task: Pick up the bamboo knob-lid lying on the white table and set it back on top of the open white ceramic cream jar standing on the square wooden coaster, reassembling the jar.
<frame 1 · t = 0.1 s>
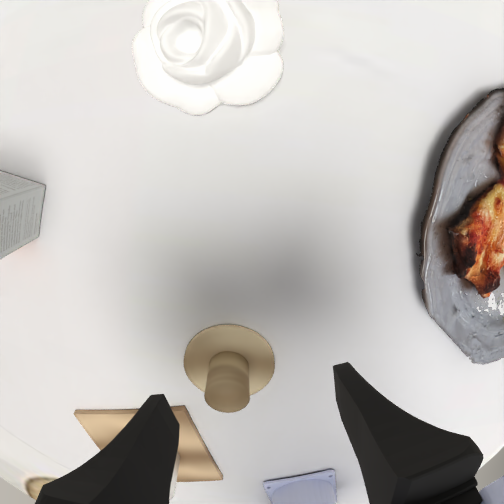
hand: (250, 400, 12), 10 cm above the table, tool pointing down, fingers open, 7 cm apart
rose: (211, 46, 17), on the table
skincare box: (17, 202, 20), on the table
square wooden coaster: (150, 448, 27), on the table
lid: (229, 360, 24), on the table
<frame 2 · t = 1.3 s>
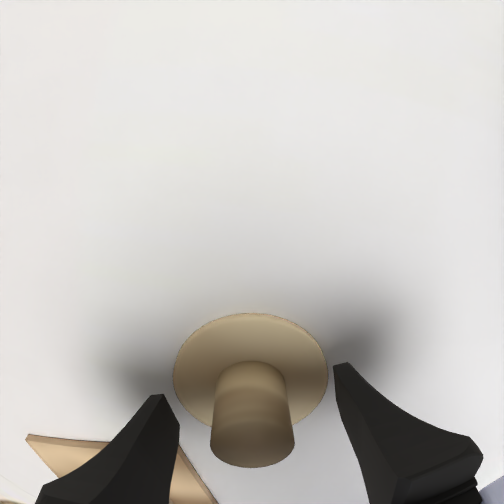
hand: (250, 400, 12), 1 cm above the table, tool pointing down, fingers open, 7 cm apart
square wooden coaster: (131, 490, 17), on the table
lid: (250, 375, 14), on the table
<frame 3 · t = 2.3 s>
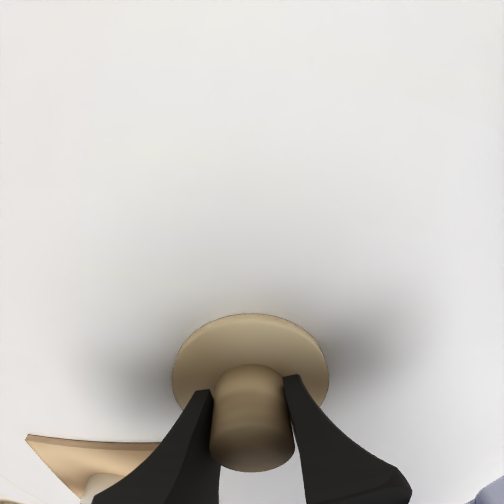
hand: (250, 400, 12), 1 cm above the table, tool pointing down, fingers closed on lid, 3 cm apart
jar: (130, 496, 17), point 1 cm above the table, touching square wooden coaster
square wooden coaster: (131, 490, 17), on the table
lid: (250, 378, 14), on the table, touching gripper
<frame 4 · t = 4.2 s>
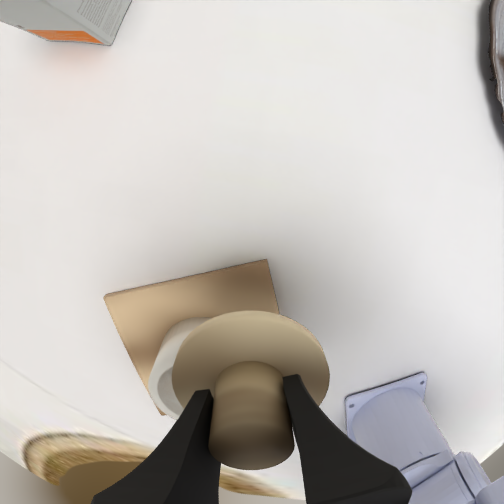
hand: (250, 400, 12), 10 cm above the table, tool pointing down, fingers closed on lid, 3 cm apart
jar: (204, 353, 23), point 1 cm above the table, touching square wooden coaster
skincare box: (90, 19, 16), on the table
square wooden coaster: (205, 349, 24), on the table
lid: (250, 376, 14), point 9 cm above the table, touching gripper
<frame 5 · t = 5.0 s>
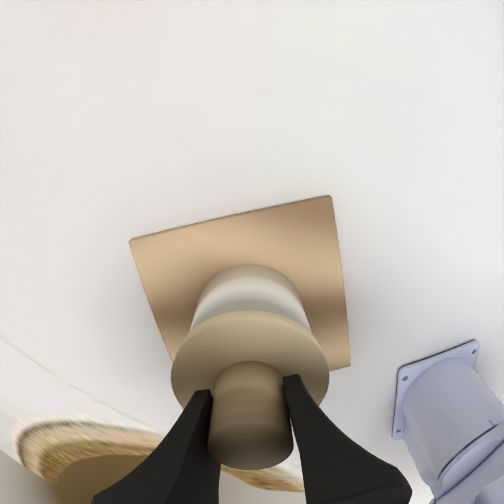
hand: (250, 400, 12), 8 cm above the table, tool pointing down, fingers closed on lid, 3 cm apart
jar: (249, 312, 20), point 1 cm above the table, touching square wooden coaster
square wooden coaster: (249, 308, 20), on the table
lid: (250, 376, 14), point 7 cm above the table, touching gripper
when the fingers open (7 cm above the table, at t = 5.9 s): lid stays where it is, resting on jar.
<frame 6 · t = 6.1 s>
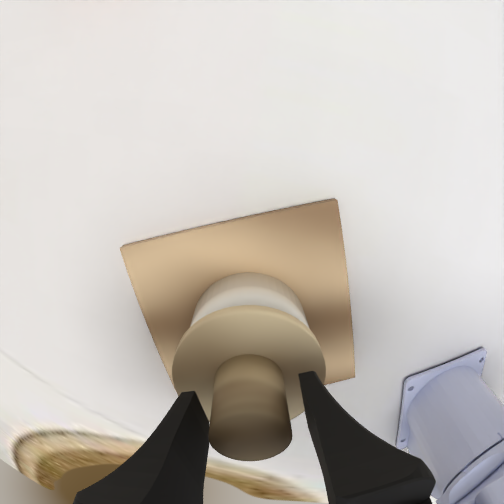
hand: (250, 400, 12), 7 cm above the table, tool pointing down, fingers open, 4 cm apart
jar: (249, 323, 19), point 1 cm above the table, touching lid, square wooden coaster
square wooden coaster: (249, 318, 19), on the table
lid: (248, 370, 14), point 5 cm above the table, touching jar
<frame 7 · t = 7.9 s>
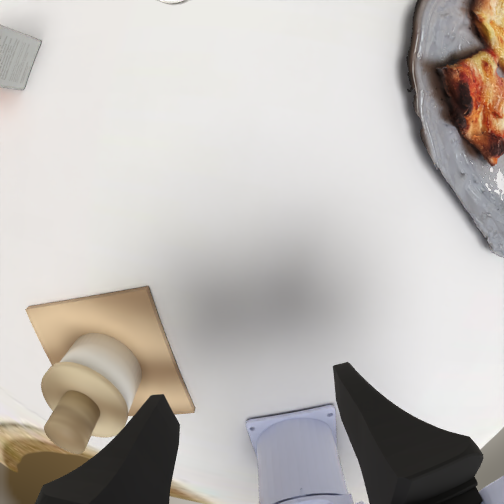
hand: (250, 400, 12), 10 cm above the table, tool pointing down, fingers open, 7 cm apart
jar: (105, 365, 24), point 1 cm above the table, touching lid, square wooden coaster
skincare box: (11, 63, 17), on the table
square wooden coaster: (108, 361, 24), on the table
lid: (85, 399, 19), point 5 cm above the table, touching jar
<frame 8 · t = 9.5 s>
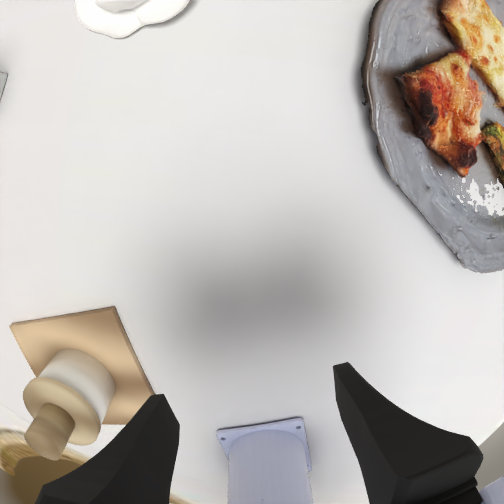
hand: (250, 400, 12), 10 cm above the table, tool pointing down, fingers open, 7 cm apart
food plate: (490, 113, 19), on the table
jar: (82, 378, 24), point 1 cm above the table, touching lid, square wooden coaster
square wooden coaster: (85, 374, 25), on the table
lid: (62, 410, 20), point 5 cm above the table, touching jar
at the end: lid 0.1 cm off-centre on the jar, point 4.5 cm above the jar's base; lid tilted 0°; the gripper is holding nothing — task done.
